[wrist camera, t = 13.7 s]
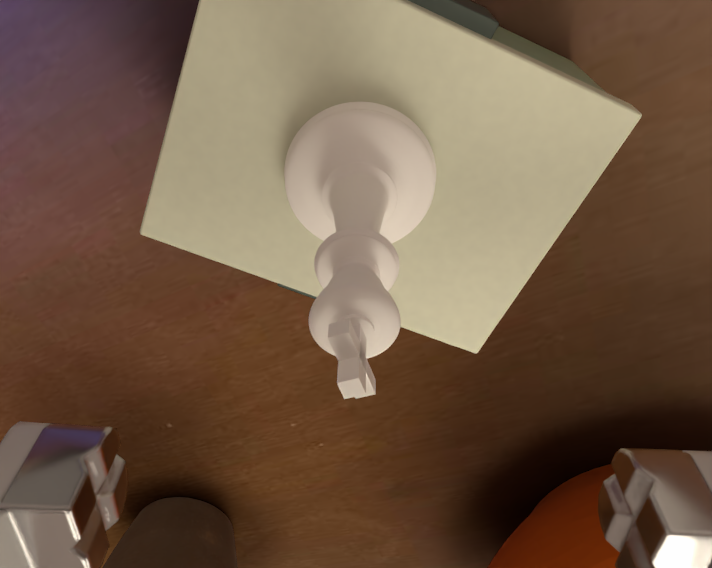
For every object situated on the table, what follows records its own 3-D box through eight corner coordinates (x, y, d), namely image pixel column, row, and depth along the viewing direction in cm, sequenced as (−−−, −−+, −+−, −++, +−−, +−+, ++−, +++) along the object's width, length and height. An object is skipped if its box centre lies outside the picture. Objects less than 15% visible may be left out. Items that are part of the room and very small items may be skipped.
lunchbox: (185, 168, 28) (135, 246, 22) (265, -111, 22) (225, -106, 16) (451, 269, 30) (470, 363, 24) (587, 46, 24) (655, 100, 18)
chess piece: (412, 79, 18) (446, 247, 10) (451, 219, 21) (505, 447, 13) (260, 129, 19) (175, 321, 11) (316, 258, 22) (281, 493, 13)
